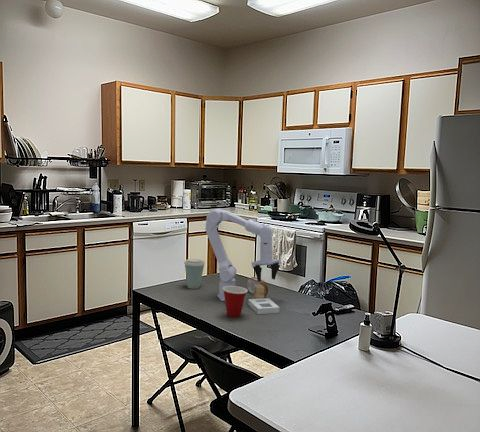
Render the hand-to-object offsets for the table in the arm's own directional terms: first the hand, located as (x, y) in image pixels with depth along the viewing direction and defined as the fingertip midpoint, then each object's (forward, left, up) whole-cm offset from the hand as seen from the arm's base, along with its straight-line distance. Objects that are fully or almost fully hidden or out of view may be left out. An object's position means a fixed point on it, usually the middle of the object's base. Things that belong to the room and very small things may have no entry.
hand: (266, 280), depth 208 cm
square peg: (-3, -2, -11) cm, 12 cm away
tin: (-12, 0, -11) cm, 16 cm away
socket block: (+9, -4, -11) cm, 15 cm away
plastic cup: (+15, -20, -11) cm, 27 cm away
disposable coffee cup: (-32, -28, -11) cm, 44 cm away
